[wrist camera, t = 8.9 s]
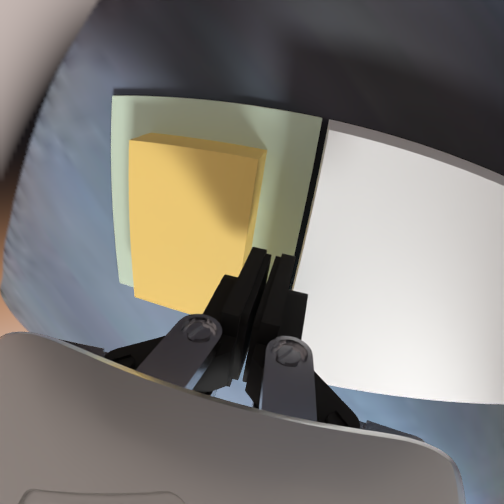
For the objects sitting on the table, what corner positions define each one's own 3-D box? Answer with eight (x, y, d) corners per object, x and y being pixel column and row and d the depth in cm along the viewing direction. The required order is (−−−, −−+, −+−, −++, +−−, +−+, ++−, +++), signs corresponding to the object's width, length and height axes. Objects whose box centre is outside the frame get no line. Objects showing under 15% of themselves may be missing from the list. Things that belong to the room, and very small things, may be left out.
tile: (129, 140, 13) (150, 132, 15) (134, 296, 18) (150, 278, 20) (258, 159, 13) (267, 149, 14) (233, 326, 17) (242, 304, 19)
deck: (574, 212, 11) (611, 243, 8) (493, 361, 17) (507, 404, 14) (329, 119, 13) (329, 129, 10) (282, 323, 19) (270, 372, 16)
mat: (322, 117, 13) (322, 118, 13) (278, 322, 19) (277, 326, 19) (116, 95, 15) (112, 96, 14) (122, 279, 21) (119, 282, 21)
